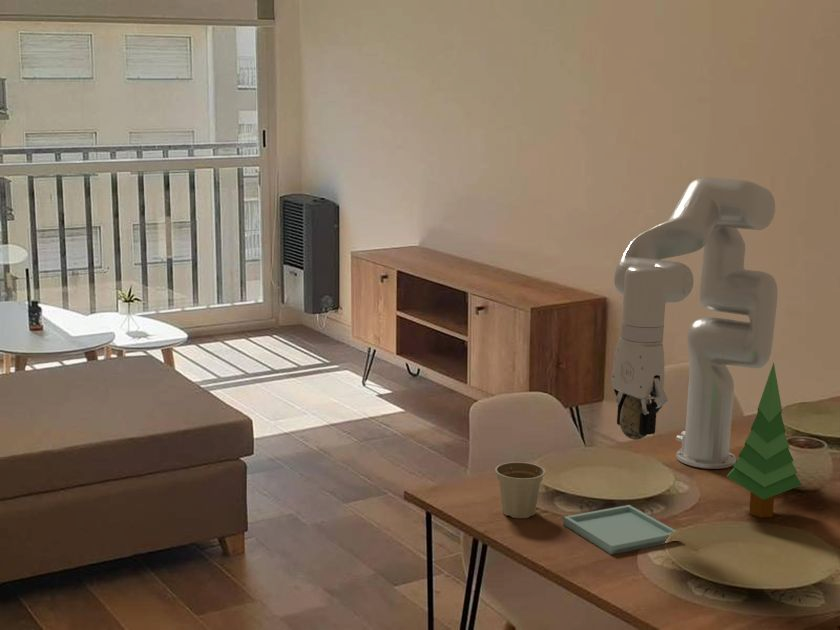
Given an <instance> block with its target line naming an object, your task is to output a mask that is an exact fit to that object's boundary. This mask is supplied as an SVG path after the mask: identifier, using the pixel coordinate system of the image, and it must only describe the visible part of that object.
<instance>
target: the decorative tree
mask: <svg viewBox="0 0 840 630" xmlns="http://www.w3.org/2000/svg"><path fill="white" fill-rule="evenodd" d="M782 412H783V407H782V402H781V397H780V391H779V384H778V380H777V374H776V368H775V362H773V363H772V366H771V368H770V371H769V375H768V378H767V380H766V383H765V385H764V388H763V392H762V395H761V398H760V401H759V404H758V407H757V412H756V417H755V418H754V421H753V422H752V425H751V427H750V432H749V434H748V436H747V438H746V439H745V441H744V446H743V448H742V450H741V451H740V453H739V454H738V459H737V460H736V462H735V464H734V465H733V466H732V470H730V472H729V473H728V474H727V475H726V477H727V478H728V479H730V480H731V481H733V482H734V483H736V484H738V485H740V486H741V487H742V488H744V489H745V490H748V491H749V492H750V499H749V509H748V511H749V513H748V514H749V515H752V516H755V517H758V518H770V517H773V516H774V515H773V514H774V507H775V505H774V503H775V496H776V495H779V494H783V493H784V492H787V491H789V490H792V489H796V488H798V487H800V486H803V485H802V482H801V481H800V480H799V477H798V476H797V474H799V473H798V471H797V469H796V467H795V465H794V463H793V462H794V458H793V456H792V453H791V451H790V449H789V448H790V444H789V442H788V438H787V436H786V428H785V427H786V426H785V424H784V419H783V416H782Z"/></svg>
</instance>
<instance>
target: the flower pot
mask: <svg viewBox="0 0 840 630" xmlns="http://www.w3.org/2000/svg"><path fill="white" fill-rule="evenodd" d="M494 471H495V473H496V474H497V480H498V482H499V490H500V498H501V507H502V508H501V509H502V513H503V514H504V516H506V517H507V516H510V517H511V518H513V519H529V518H530V517H531V516H534V515H536V512H537V503H538V499H539V495H540V494H539V492H540V487H541V483H542V481H543V478H544V476H545V475H546V469H545V468H544V467H542V466H540V465H538V464H535V463H531V462H525V461H524V462H522V461H511V462H509V461H508V462H505V463H501V464H499V465H497V466H496V467H495V469H494Z"/></svg>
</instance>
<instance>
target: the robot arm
mask: <svg viewBox="0 0 840 630" xmlns="http://www.w3.org/2000/svg"><path fill="white" fill-rule="evenodd" d="M775 213H776V203H775V198H774V195H773V193H772V192H771V191H770V190H769V189H768V188H766V187H764V186H761V185H759V184H757V183H755V182H752V181H750V180H745V179H732V178H720V177H718V178H717V177H701V178H697V179H693V180H692V181H691V182H690V183H689V184H688V185H687V186H686V188H685V190H684V191H683V193H682V194H681V196H680V198H679V201H678V202H677V204H676V206H675V208H674V209H673V211H672V213H671V214H670V216H669V218H668V220H666V221H664V222H661V223H660V224H657V225H655V226H653V227H651V228H649V229H648V230H646V231H643V232H641V233H640V234H638V235H637V236H636V237H635V238H633V239H632V240H631V241H630V242H629V244H628V245H627V247H626V248H625V250H624V252H623V253H622V255H621V257H620V259H619V261H618V263H617V265H616V269H615V271H614V280H613V281H614V285H615V288H616V290H617V292H618V293H619V294H621V295H622V296H623V297H622V298H623V299H622V300H623V301H622V312H621V313H622V314H621V315H622V316H621V329H620V336H619V337H618V340H617V343H616V348H615V353H614V358H613V366H612V375H611V378H610V383H611V386H612V388H613V390H614V393H615V396H616V397H615V401H616V402H615V403H616V404H617V412H616V413H617V415H616V424H617V425H618V426H620V413H621V409H622V406H623V403H624V400H625V398H626V396H627V395H629V396H632V397H634V398H637V399H641V403H642V409H643V413H641V414H640V426H639V434H640V435H646V436H648V435H654V434H655V433H656V425H657V424H656V423H657V414H658V413H659V412H660V410H661V409H662V407H663V406H664V405H665V404H666V403H667V402H668V401H669V400H668V396H667V395H666V392H665V390H664V385H665V352H664V344H663V342H664V340H663V339H664V329H665V328H664V326H665V311H666V303H673V304H674V303H679V302H681V301H683V300H685V299H687V297H688V296H689V295H690V294H691V291H692V290H693V287H694V274H693V271H692V270H691V268H690V267H689V266H688V265H686V264H685V263H683V262H679V261H672V260H665V259H669V258H670V259H671V258H675V257H680V256H681V257H682V256H685V255H689V254H691V253H695V252H698V251H699V250H701V249H702V248H703V253H702V265H701V274H700V285H699V286H700V287H699V301H700V304H701V306H702V307H703V308H705V309H707V310H709V311H713V312H720V313H726V314H735V315H742V316H747V317H748V318H749V321H741V320H735V319H730V318H729V319H728V318H721V317H715V316H714V317H709V316H708V317H699V318H697V319H695V320H694V321H693V322H692V323H691V324H690V325H689V328H688V331H687V337H686V338H687V351H688V364H689V365H688V366H689V375H688V389H687V403H686V419H685V430H683V431H681V432H680V434H677V435H676V437H675V441H677V442H679V443H681V448H679V449H678V450H677V451H676V454H675V455H676V456H675V457H676V459H677V460H678V461H679V462H681V463H682V464H685V465H687V466H690V467H694V468H700V469H708V470H718V469H720V470H721V469H727V468H730V467H733V466H734V464H735V463H736V462H737V460H736V459H737V458H736V456H735V454H734V453H732V452H730V443H731V442H730V441H731V430H732V428H731V427H732V417H733V406H734V405H733V404H734V392H735V383H734V379H733V376H732V374H731V372H730V370H729V368H728V367H727V365H728V366H735V367H741V368H748V369H762V368H764V367H765V366H766V365H767V364H769V361H770V358H771V354H772V350H773V343H774V342H773V341H774V333H775V324H776V323H775V322H776V315H777V307H778V306H777V304H778V286H777V280H776V279H775V277H774V276H773V275H772V274H771V273H768V272H765V271H760V270H750V269H745V255H746V243H745V241H744V238H743V237H742V234H741V232H740V231H739V230H738V229H740V230H741V229H743V230H744V229H745V230H750V231H751V230H753V231H755V230H756V231H763V230H765V229H767V228H768V227H769V226H770V225H771V223H772V221H773V219H774V217H775ZM647 400H650V403H651V404H650V405H649V406H648V401H647Z"/></svg>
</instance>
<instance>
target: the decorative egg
mask: <svg viewBox="0 0 840 630" xmlns="http://www.w3.org/2000/svg"><path fill="white" fill-rule="evenodd" d="M647 401H648V406H649V405H650V404H651V400H647ZM641 413H643V409H642V403H641V399H637V398H634V397H632V396H629V395H627V396H626V398H625V400H624V403H623V406H622V409H621V413H620V425H619V426H620V429H621V431H622V433H623V434H624V435H625V436H626V437H627V438H628V439H631V440H634V441H638V440H642V439H644V438H645V437H647V435H640V434H639V426H640V414H641Z"/></svg>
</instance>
